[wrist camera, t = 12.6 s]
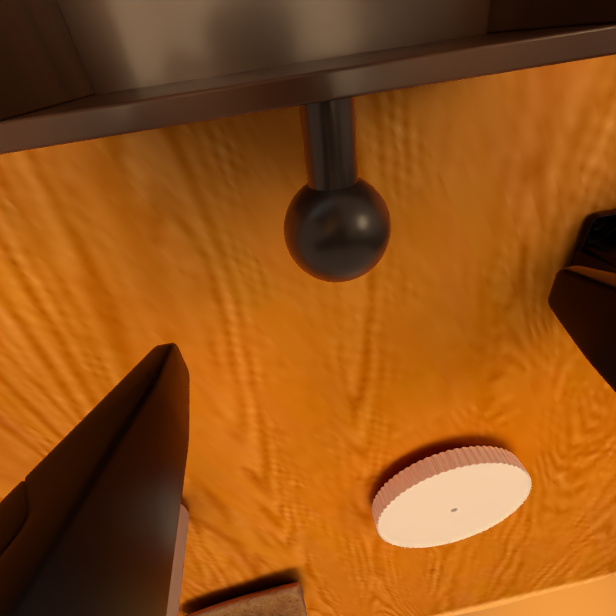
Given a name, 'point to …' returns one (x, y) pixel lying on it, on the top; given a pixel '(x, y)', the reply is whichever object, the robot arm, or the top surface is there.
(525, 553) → the top surface
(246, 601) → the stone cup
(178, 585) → the beverage can
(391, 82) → the bin
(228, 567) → the top surface
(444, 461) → the plastic lid
